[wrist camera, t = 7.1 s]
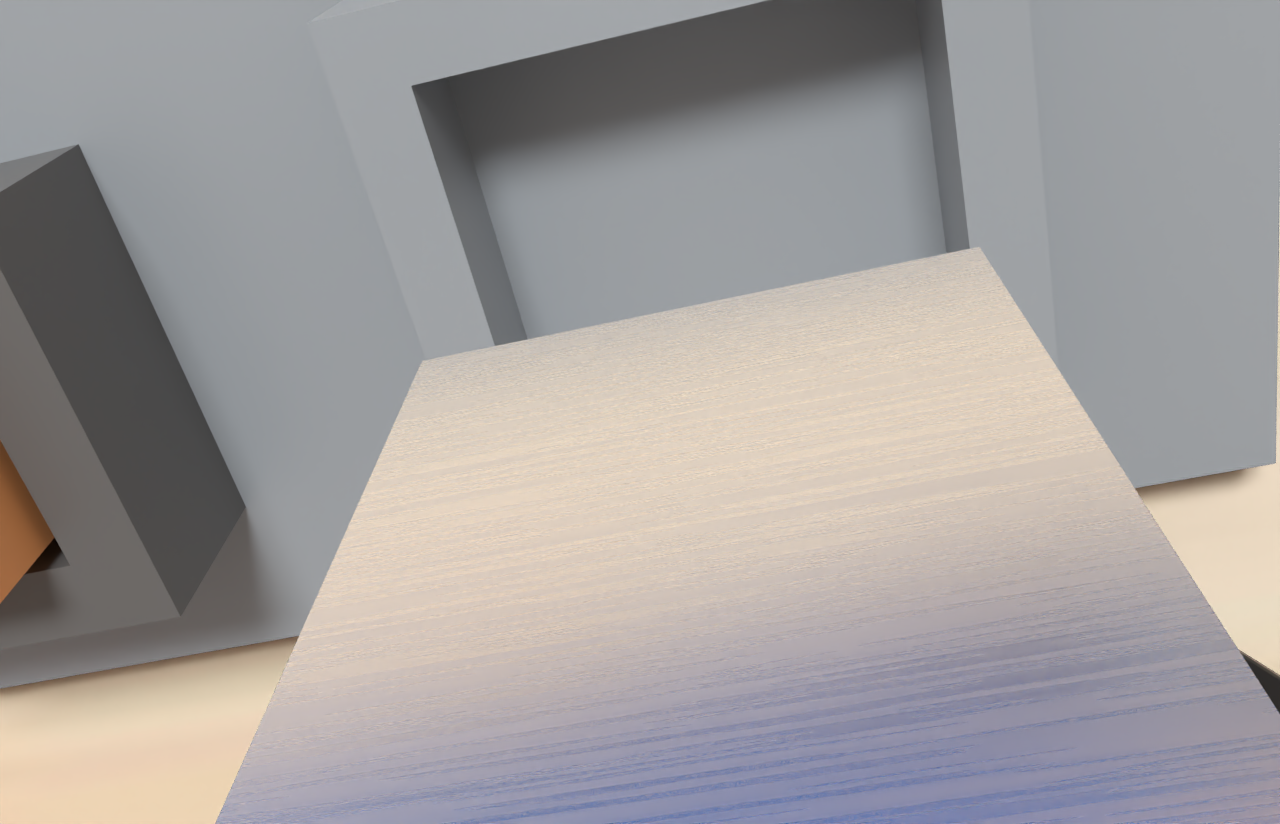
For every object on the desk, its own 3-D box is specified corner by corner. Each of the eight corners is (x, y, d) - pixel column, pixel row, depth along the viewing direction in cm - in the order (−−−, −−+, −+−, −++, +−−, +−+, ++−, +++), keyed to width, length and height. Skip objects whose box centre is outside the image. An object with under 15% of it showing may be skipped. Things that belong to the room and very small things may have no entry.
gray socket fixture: (1251, -397, 15) (1432, -451, 11) (1249, 433, 20) (1372, 572, 17) (-410, 52, 18) (-678, 119, 14) (-24, 662, 23) (-150, 820, 20)
